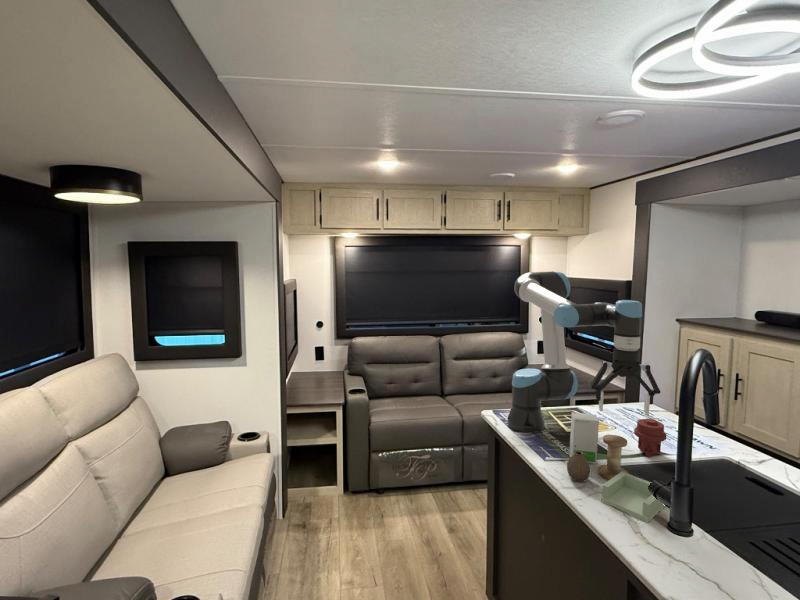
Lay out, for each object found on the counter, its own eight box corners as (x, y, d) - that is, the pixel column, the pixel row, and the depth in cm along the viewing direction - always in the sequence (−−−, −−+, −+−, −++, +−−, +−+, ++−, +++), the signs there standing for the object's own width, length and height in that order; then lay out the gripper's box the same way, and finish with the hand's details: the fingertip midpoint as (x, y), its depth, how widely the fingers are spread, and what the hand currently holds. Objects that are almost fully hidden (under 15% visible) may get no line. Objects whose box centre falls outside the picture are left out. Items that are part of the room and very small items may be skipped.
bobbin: (592, 474, 140) (594, 438, 139) (606, 465, 146) (607, 431, 144) (620, 485, 133) (622, 448, 132) (633, 476, 139) (635, 440, 137)
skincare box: (571, 461, 148) (573, 418, 147) (568, 453, 155) (570, 411, 153) (597, 464, 146) (599, 420, 145) (593, 455, 153) (595, 413, 151)
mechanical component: (652, 462, 147) (626, 450, 156) (671, 456, 152) (645, 445, 161) (655, 428, 146) (628, 418, 155) (673, 423, 150) (646, 413, 159)
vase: (588, 474, 140) (589, 449, 139) (591, 486, 133) (592, 459, 132) (565, 472, 141) (566, 446, 140) (567, 483, 135) (568, 456, 134)
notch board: (600, 500, 125) (601, 485, 124) (620, 485, 133) (621, 470, 132) (648, 522, 115) (649, 505, 114) (667, 504, 123) (668, 488, 122)
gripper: (586, 348, 138) (583, 412, 140) (674, 353, 131) (670, 419, 133) (583, 343, 145) (580, 404, 147) (666, 347, 138) (662, 411, 141)
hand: (623, 411), depth 140 cm, fingers open, 13 cm apart
